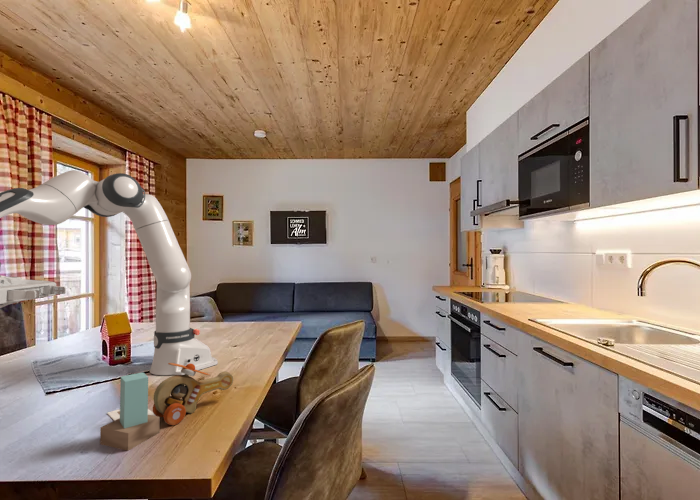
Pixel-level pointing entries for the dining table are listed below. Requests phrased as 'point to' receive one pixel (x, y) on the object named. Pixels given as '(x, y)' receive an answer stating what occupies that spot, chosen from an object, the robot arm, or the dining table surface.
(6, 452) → the dining table surface
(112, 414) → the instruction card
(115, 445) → the walnut base block
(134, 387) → the teal tall block
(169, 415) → the toy helicopter
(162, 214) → the robot arm
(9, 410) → the dining table surface
